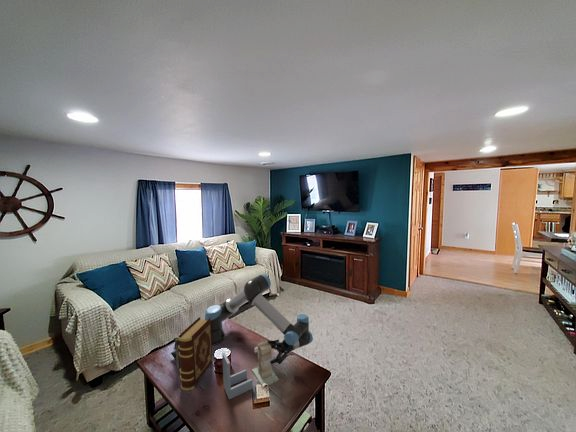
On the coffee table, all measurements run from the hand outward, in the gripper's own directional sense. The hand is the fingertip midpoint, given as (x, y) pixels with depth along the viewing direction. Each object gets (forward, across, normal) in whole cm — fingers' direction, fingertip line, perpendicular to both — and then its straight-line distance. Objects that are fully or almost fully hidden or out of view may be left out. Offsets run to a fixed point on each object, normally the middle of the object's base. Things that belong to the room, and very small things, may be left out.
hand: (259, 357), depth 135 cm
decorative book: (+31, +22, -13) cm, 40 cm away
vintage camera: (+37, +40, -13) cm, 56 cm away
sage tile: (-3, 0, -13) cm, 13 cm away
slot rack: (+13, 0, -13) cm, 18 cm away
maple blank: (-3, 0, -12) cm, 12 cm away
